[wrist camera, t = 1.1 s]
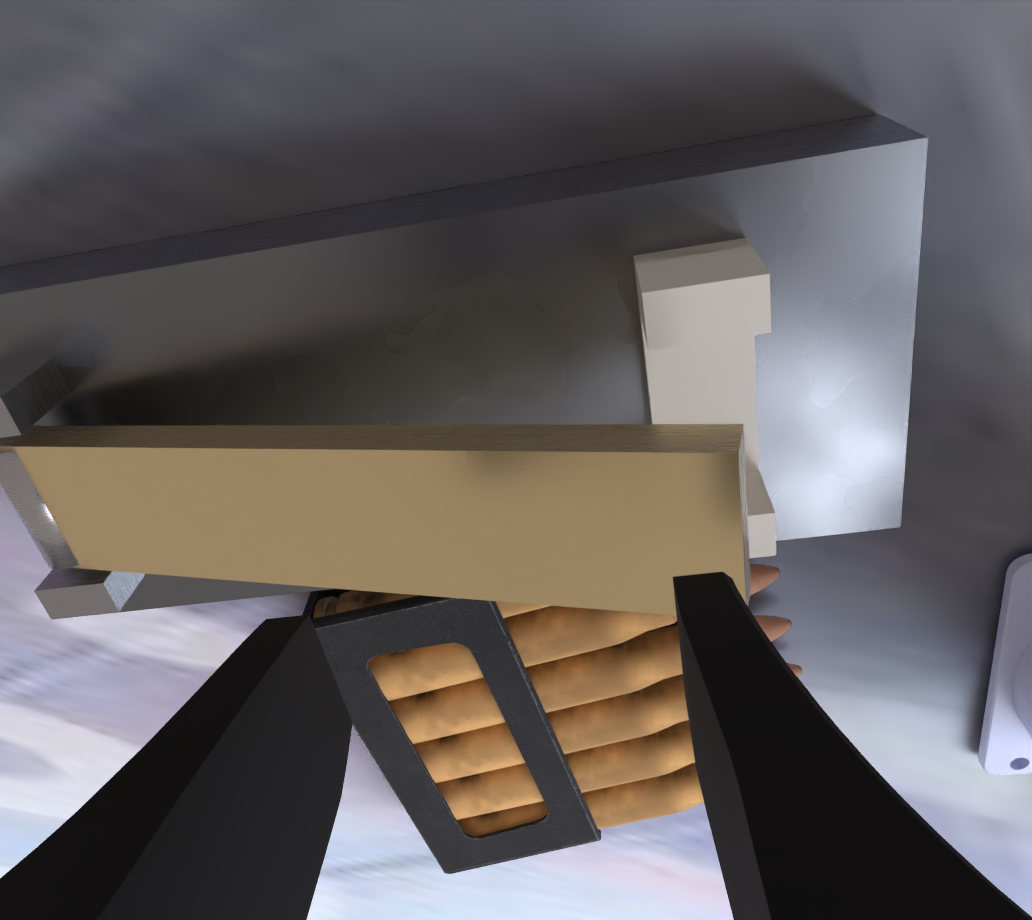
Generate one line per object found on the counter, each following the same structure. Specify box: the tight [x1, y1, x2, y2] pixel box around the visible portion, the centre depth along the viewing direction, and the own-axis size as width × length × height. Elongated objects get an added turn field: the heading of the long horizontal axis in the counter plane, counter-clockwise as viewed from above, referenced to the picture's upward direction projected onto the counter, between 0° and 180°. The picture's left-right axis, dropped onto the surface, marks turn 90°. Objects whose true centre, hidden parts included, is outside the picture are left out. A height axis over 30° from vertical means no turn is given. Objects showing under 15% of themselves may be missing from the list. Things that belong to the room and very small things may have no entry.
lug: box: [633, 238, 776, 558], centre depth 15 cm, size 2×6×2 cm, turn 10°
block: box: [0, 114, 928, 619], centre depth 17 cm, size 19×8×4 cm, turn 100°
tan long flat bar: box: [0, 424, 751, 615], centre depth 15 cm, size 15×3×1 cm, turn 100°
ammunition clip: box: [303, 564, 802, 874], centre depth 23 cm, size 11×2×12 cm
